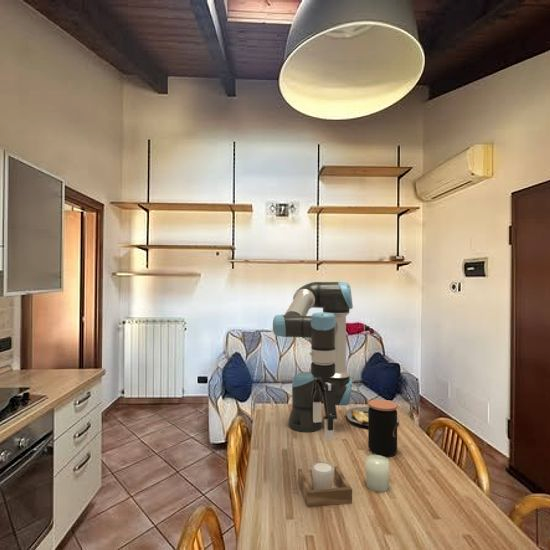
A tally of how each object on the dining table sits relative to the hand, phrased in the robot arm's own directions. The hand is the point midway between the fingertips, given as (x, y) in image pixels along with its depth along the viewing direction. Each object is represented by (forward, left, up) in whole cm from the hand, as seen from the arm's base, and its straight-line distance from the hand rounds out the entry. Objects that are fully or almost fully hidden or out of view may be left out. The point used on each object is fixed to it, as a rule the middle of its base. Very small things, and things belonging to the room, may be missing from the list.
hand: (322, 430), depth 113 cm
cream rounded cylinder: (0, +18, -18) cm, 26 cm away
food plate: (-52, +38, -19) cm, 67 cm away
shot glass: (0, 0, -19) cm, 19 cm away
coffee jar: (-22, +30, -19) cm, 41 cm away
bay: (+1, 0, -18) cm, 18 cm away
